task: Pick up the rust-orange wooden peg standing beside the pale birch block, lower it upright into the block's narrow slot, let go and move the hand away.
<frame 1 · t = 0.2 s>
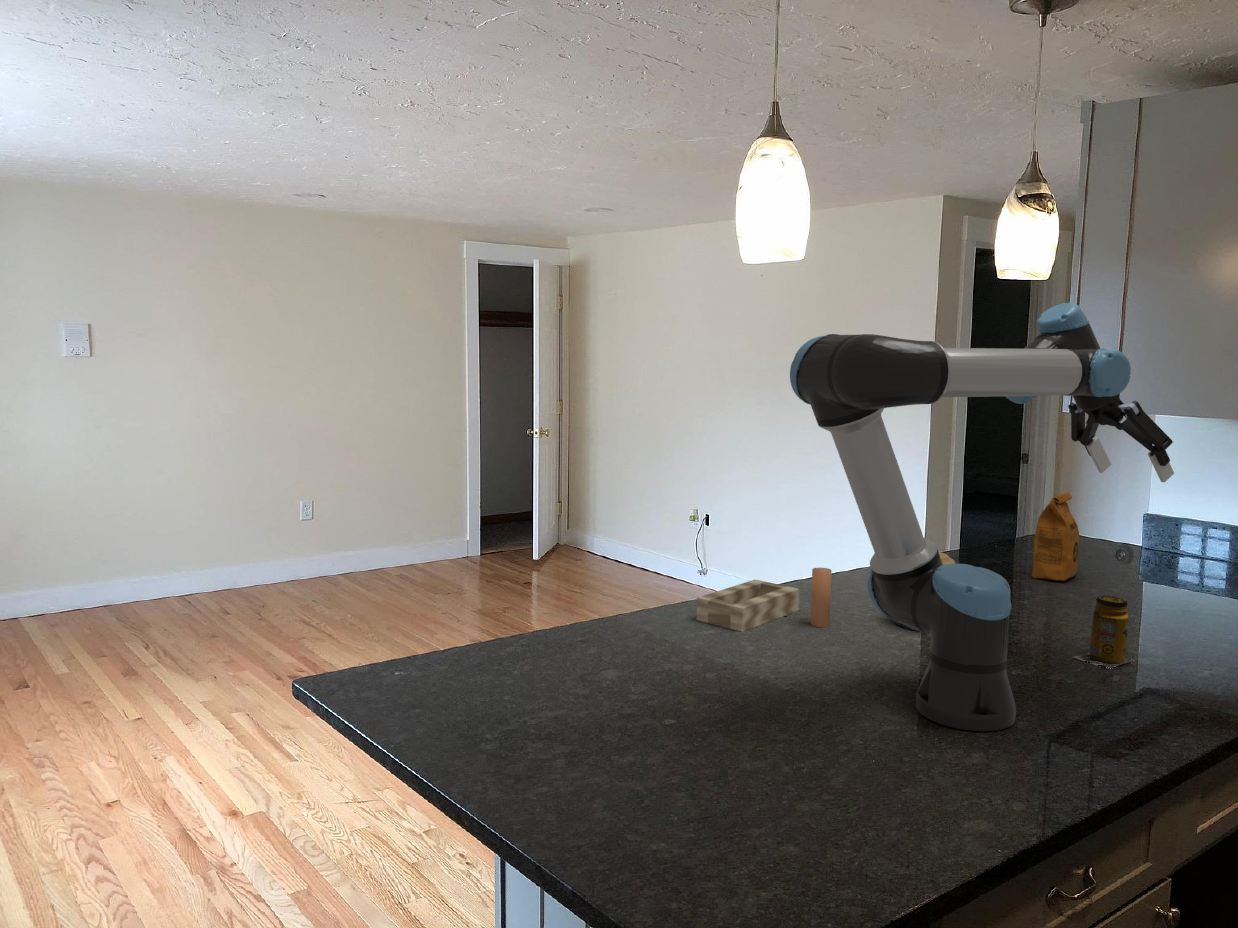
hand: (1135, 473, 171), 36 cm above the worktop, tool tilted 35°, fingers open, 13 cm apart
socket block: (748, 615, 202), on the worktop
coffee package: (1054, 578, 237), on the worktop
canister: (923, 624, 196), on the worktop
condiment: (1103, 661, 174), on the worktop
peg: (819, 624, 195), on the worktop
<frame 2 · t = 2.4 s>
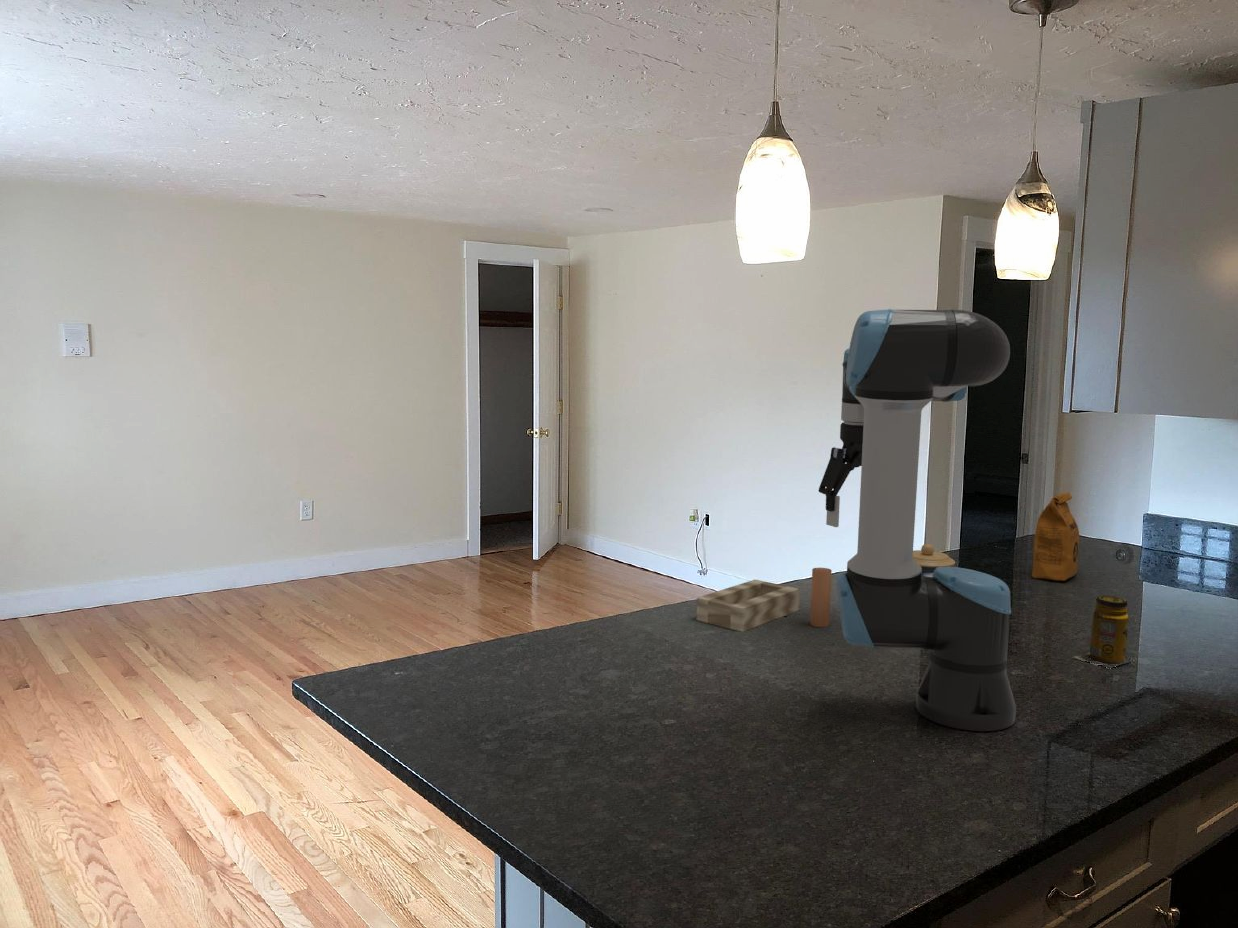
hand: (854, 521, 194), 22 cm above the worktop, tool pointing down, fingers open, 13 cm apart
nothing on the worktop moved.
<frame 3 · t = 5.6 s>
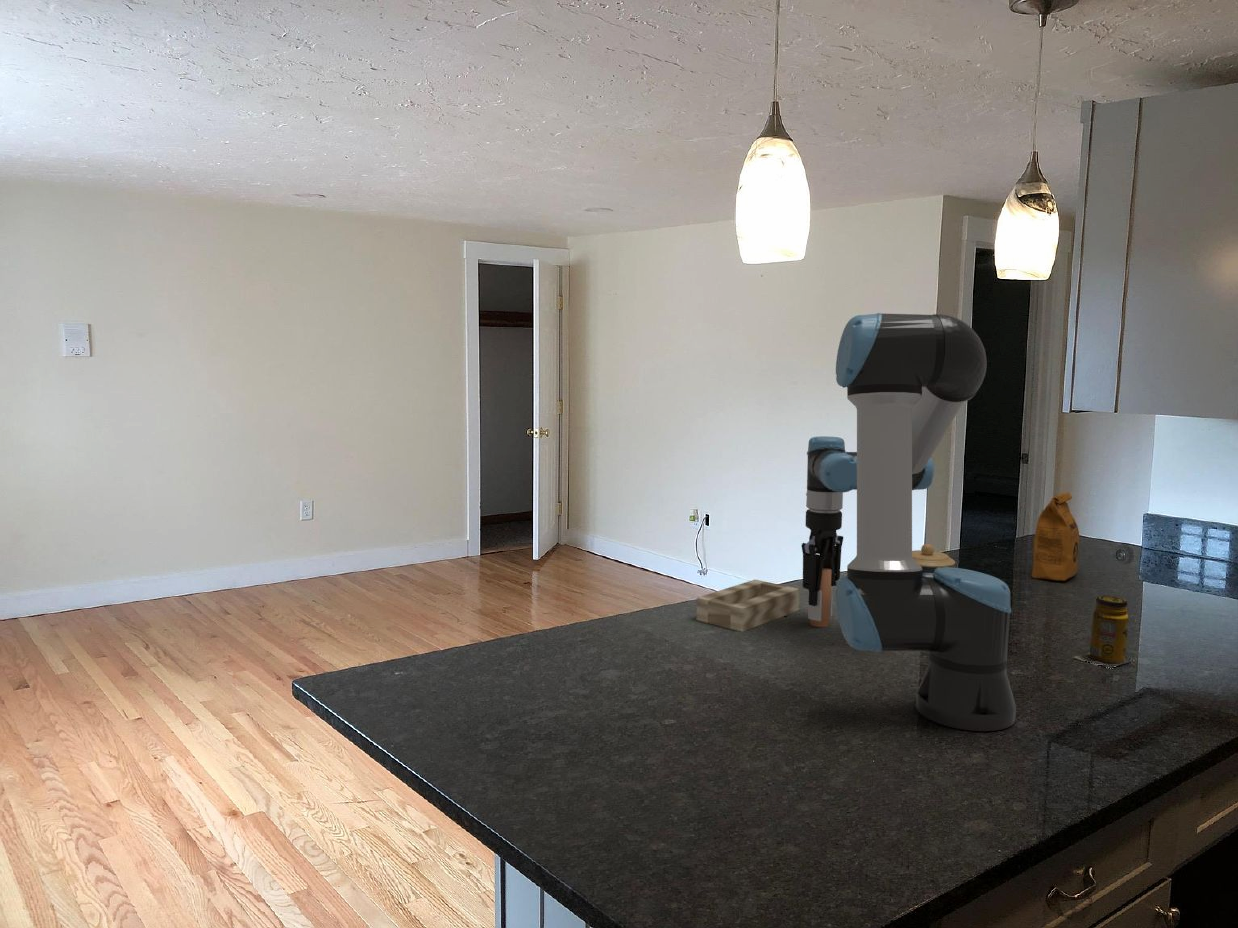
hand: (820, 617, 195), 2 cm above the worktop, tool pointing down, fingers closed on peg, 4 cm apart
peg: (819, 624, 195), on the worktop, touching gripper
everything else where it was.
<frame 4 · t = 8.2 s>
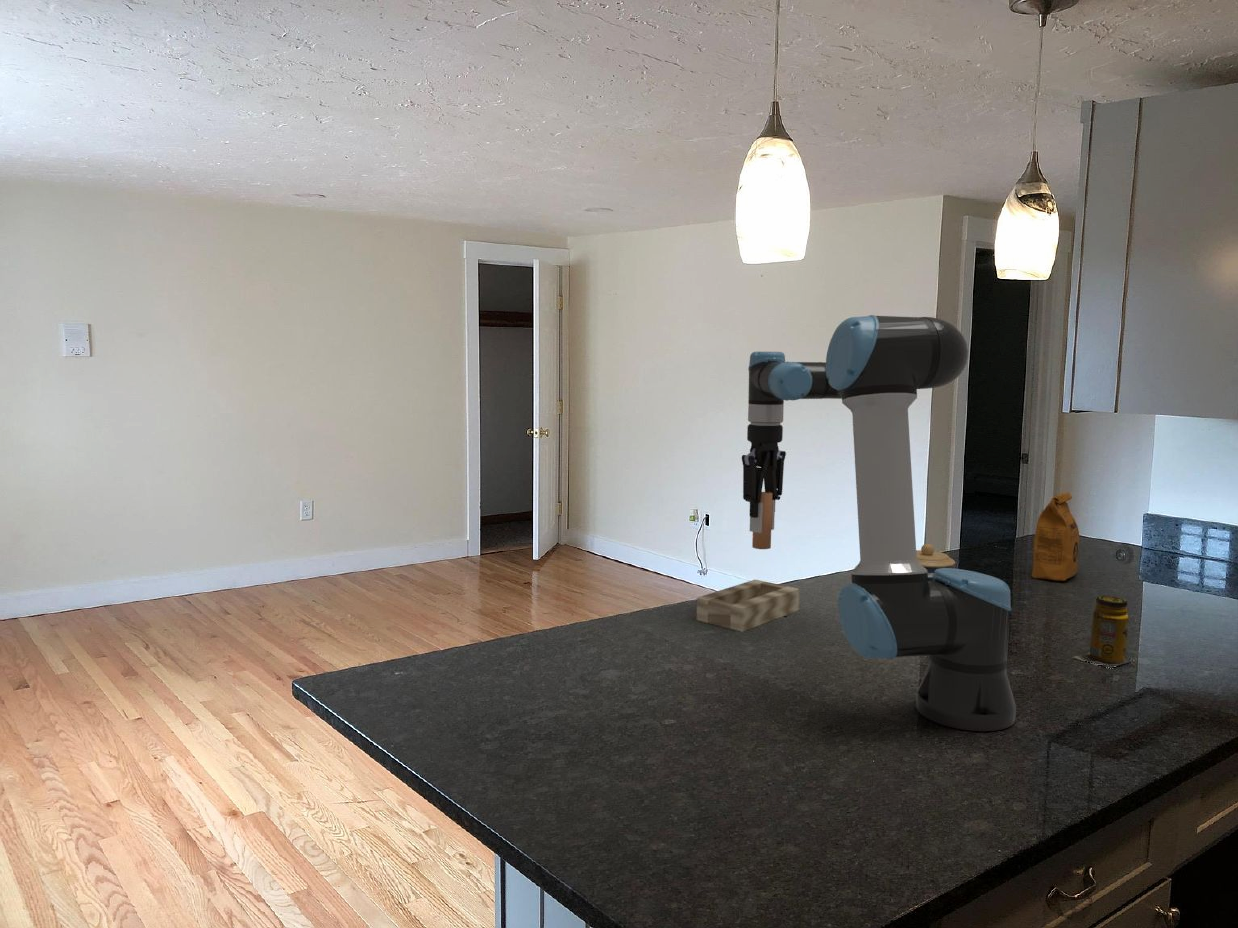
hand: (761, 530, 199), 19 cm above the worktop, tool pointing down, fingers closed on peg, 4 cm apart
peg: (761, 547, 199), point 16 cm above the worktop, touching gripper
everything else where it was.
when the fingers open (4 cm above the worktop, at t = 11.0 s): peg stays where it is, on the worktop.
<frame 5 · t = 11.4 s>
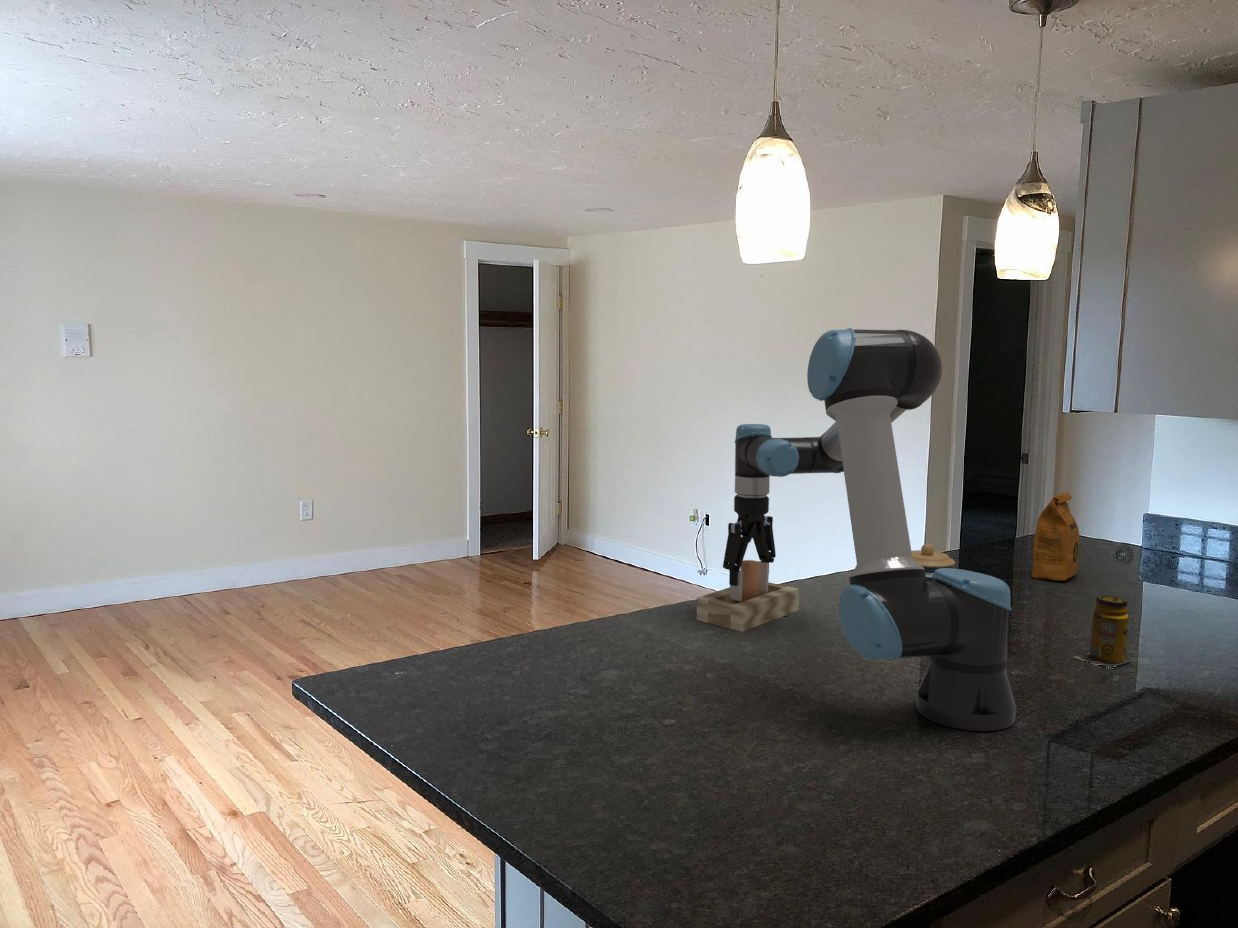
hand: (749, 594, 201), 5 cm above the worktop, tool pointing down, fingers open, 9 cm apart
peg: (748, 615, 202), on the worktop
everything else where it was.
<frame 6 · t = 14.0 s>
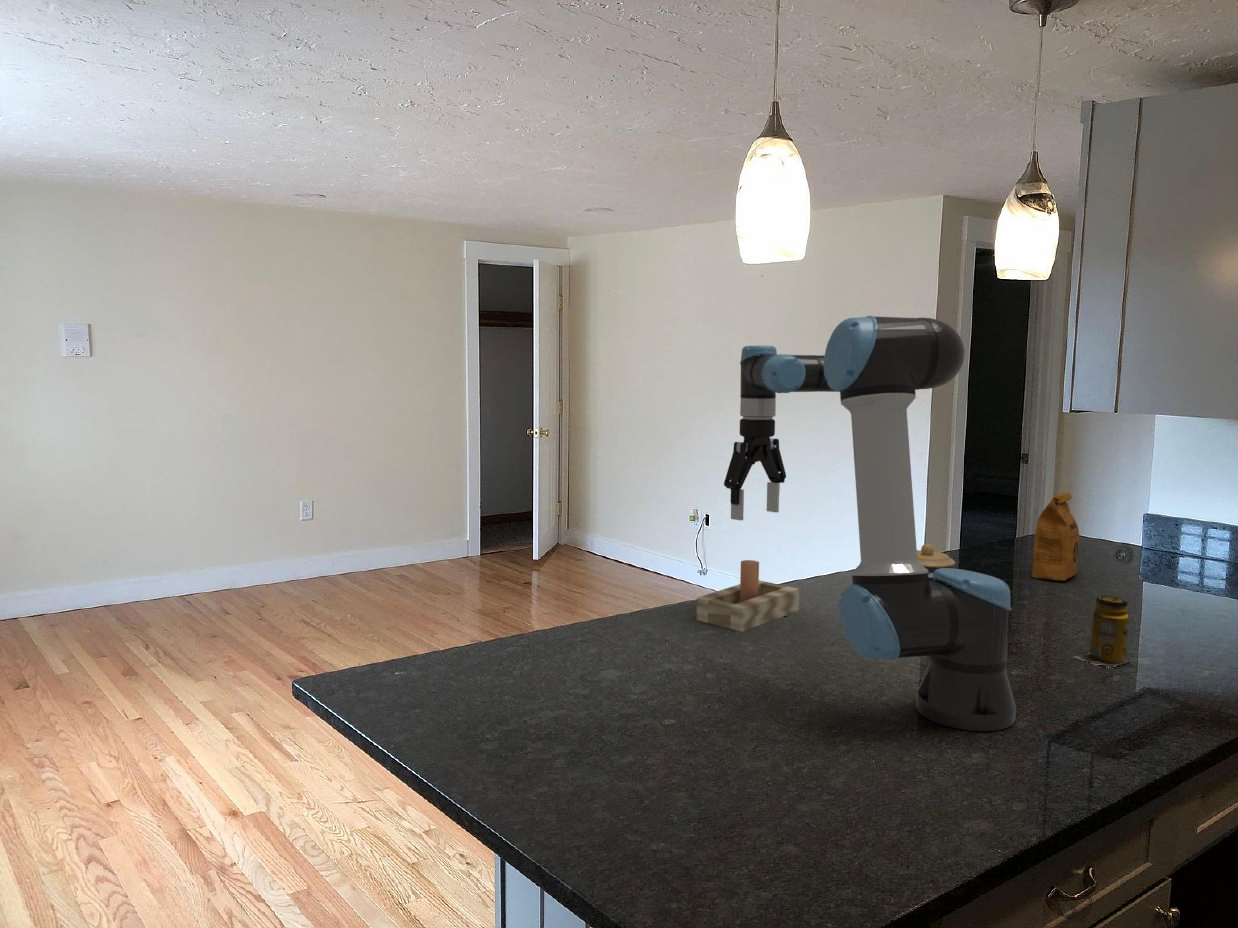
hand: (755, 515, 198), 23 cm above the worktop, tool pointing down, fingers open, 13 cm apart
nothing on the worktop moved.
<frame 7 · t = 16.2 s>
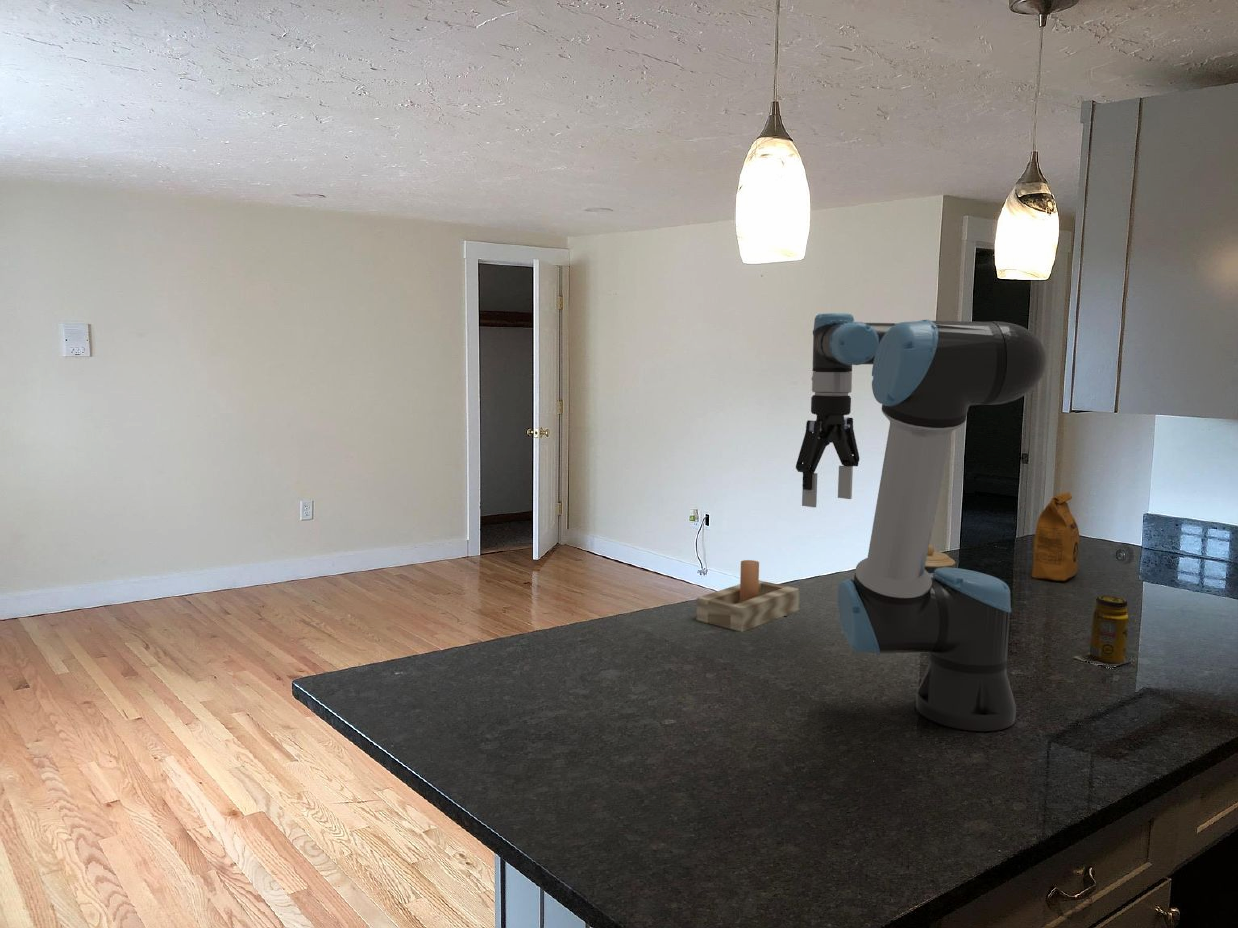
hand: (827, 502, 179), 29 cm above the worktop, tool pointing down, fingers open, 13 cm apart
nothing on the worktop moved.
at the end: peg inside the target area on the socket block (0.0 cm from its centre), point 0.0 cm above the socket block's base; peg tilted 0°; the gripper is holding nothing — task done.
